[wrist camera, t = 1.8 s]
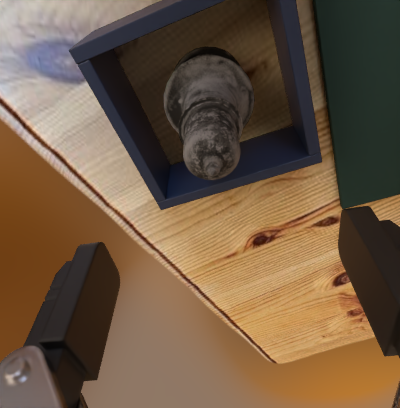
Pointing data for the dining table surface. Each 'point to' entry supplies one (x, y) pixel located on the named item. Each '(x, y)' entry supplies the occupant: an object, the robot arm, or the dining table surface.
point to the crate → (143, 133)
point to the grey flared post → (209, 110)
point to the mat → (362, 94)
